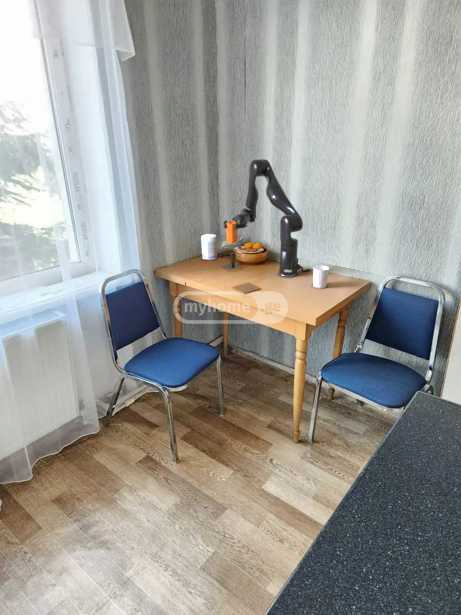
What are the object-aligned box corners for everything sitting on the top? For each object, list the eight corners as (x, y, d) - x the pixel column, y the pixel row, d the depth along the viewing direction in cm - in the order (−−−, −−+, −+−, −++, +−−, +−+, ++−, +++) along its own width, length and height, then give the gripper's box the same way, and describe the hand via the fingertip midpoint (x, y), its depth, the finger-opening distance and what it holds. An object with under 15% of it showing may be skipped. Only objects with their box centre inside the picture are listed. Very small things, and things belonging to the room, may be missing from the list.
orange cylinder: (234, 240, 228) (234, 221, 224) (238, 242, 224) (238, 223, 219) (225, 241, 226) (225, 222, 221) (229, 243, 222) (229, 224, 217)
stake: (236, 264, 238) (236, 249, 234) (242, 268, 230) (242, 253, 227) (222, 266, 235) (222, 251, 231) (228, 270, 227) (228, 255, 223)
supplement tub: (219, 256, 252) (218, 234, 245) (214, 261, 243) (214, 238, 237) (204, 255, 254) (203, 233, 248) (199, 260, 246) (199, 237, 239)
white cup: (309, 284, 207) (310, 266, 203) (322, 282, 210) (323, 264, 206) (317, 289, 200) (318, 271, 196) (330, 287, 203) (332, 269, 199)
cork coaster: (248, 283, 209) (248, 282, 209) (260, 289, 201) (260, 288, 201) (233, 287, 204) (233, 286, 204) (244, 293, 196) (244, 292, 196)
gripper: (228, 213, 234) (218, 219, 220) (251, 215, 230) (242, 221, 215) (228, 226, 237) (218, 232, 223) (251, 228, 233) (242, 234, 218)
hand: (230, 227), depth 219 cm, fingers closed on orange cylinder, 5 cm apart
